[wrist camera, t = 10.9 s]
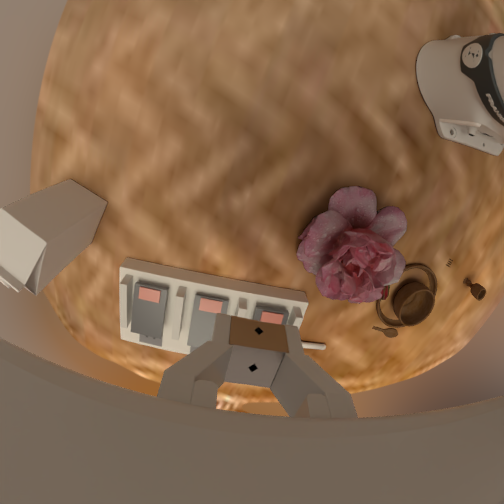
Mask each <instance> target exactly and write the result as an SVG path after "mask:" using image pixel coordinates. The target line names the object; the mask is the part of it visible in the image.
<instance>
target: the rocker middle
mask: <svg viewBox="0 0 504 504" xmlns="http://www.w3.org/2000/svg"><path fill="white" fill-rule="evenodd" d="M228 304H229V300H228V299H223V298H218V297H212V296H207V295H202V294H197V293H196V294H195V299H194V304H193V310H192V316H191V322H190V328H189V335H188V341H187V345H188V346H193V347H200V346H201V345H203V344H204V343H205V342H207V341H211V339H212V334H213V329H214V324H215V319H216V314H217V313H222V314H227V309H228Z"/></svg>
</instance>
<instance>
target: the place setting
mask: <svg viewBox="0 0 504 504" xmlns="http://www.w3.org/2000/svg"><path fill="white" fill-rule="evenodd" d="M449 260H451V259H449ZM451 261H452V260H451ZM449 262H450V261H449ZM450 263H451V262H450ZM448 264H449V263H448ZM446 265H447V264H446ZM449 265H451V264H449ZM447 266H448V265H447ZM449 267H450V266H449ZM412 268H420V269H422V270H424V271H425V272H426V273H427V275H428V277H429V280H430V289H428V288H427V287H426V286H425V285H424V284H422V283H419V282H412V283H409V284H407V285H405V286H404V287H402V288H401V289H400V290H399V292H398V293H397V295H396V297H395V299H394V303H393V308H394V312H395V314H396V316H397V317H398V319H399V320H392V319H389V318H387V317H385V316H384V315H383V313H382V312H381V309H380V301H381V298H380V299H377V312H378V316H379V318H380V319H381V321H382V322H383V323H384V324H385V325H387V326H389V327H395V328H398V327H404V326H414V325H417V324H419V323H421V322H422V321H424V320H425V319H426V318H427V317H428V316H429V314H430V313H431V311H432V309H433V307H434V303H435V295H436V291H437V280H436V277H435V274H434V273H433V272H432V271H431V270H430V269H429V268H427V267H426V266H423V265H419V264H413V265H408V266H405V268H404V270H403V272H404V271H406V270H409V269H412ZM463 283H466V285H467V286H469V287H470V288H471V293H472V295H473V296H474V297H475V298H476V299H477V300H479V301H480V300H482V299H483V298H484V296H485V294H486V289H485V288H484V287H482V286H481V285H480V284H478V283H475V284H472V283H471V281H469V280H468V278H465V279H464V281H463ZM372 329H375V330H379V331H382V332H383V333H384V334H385V335H386V336H387V337H390V338H392V337H396V336H397V335H398V333H397V331H396V330H395V329H392V328H389V329H381V328H378V327H375V326H373V328H372Z"/></svg>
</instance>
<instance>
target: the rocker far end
mask: <svg viewBox="0 0 504 504" xmlns="http://www.w3.org/2000/svg"><path fill="white" fill-rule="evenodd" d="M168 290H169V288H166V287H162V286H157V285H153V284H148V283H144V282H139V281H137V282H136V283H135V286H134V295H133V306H132V318H131V332H133V333H137V334H142V335H146V336H150V337H154V338H159V339H161V338H162V336H163V329H164V320H165V312H166V305H167V297H168Z"/></svg>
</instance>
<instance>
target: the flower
mask: <svg viewBox="0 0 504 504" xmlns="http://www.w3.org/2000/svg"><path fill="white" fill-rule="evenodd" d="M376 207H377V200H376V196H375V193H373V191H372V190H370V189H367V188H363V187H360V186H351V187H343V188H341V189H339V190H337V191H336V192H335V193H334V194H333V195H332V197H331V198H330V202H329V206H328V211H326V212H324V213H321V214H320V215H317V216H315V217H313V219H312V220H311V221H310V223H309V224H308V225H307V227H306V228H305V229H304V232H303V233H302V234H301V235H300V236H298V238H299V239H301V240H302V242H301V243H300V244H299V247H298V251H297V258H298V260H300V261H302V262H303V265H304V268H305V269H306V271H308V272H309V273H313V274H315V275H316V285H317V287H318V289H319V291H320V292H321V294H322V296H326V297H327V298H330V299H332V300H334V299H338V300H346V299H348V301H349V302H350V303H359V304H360V303H361V302H373V301H375V300H377V299H380V298H381V299H382V300H385V299H386V298H387V297H388V295H389V288H390V284H393V283H397V282H398V281H399V279H400V277H401V275H402V273H403V270H404V268H405V264H406V261H405V259H404V257H403V256H402V254H401V253H400V252H399V251H398V250H396V249H394V248H393V247H392V246H394V244H395V243H396V242H397V241H398V240H399V239H400V238H401V237H402V236H403V235H404V233H405V232H406V229H407V220H406V217H405V214H404V212H403V211H401V210H400V209H399V208H398V207H394V206H387V207H384V208H382V209H381V210H379V211H376Z"/></svg>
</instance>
